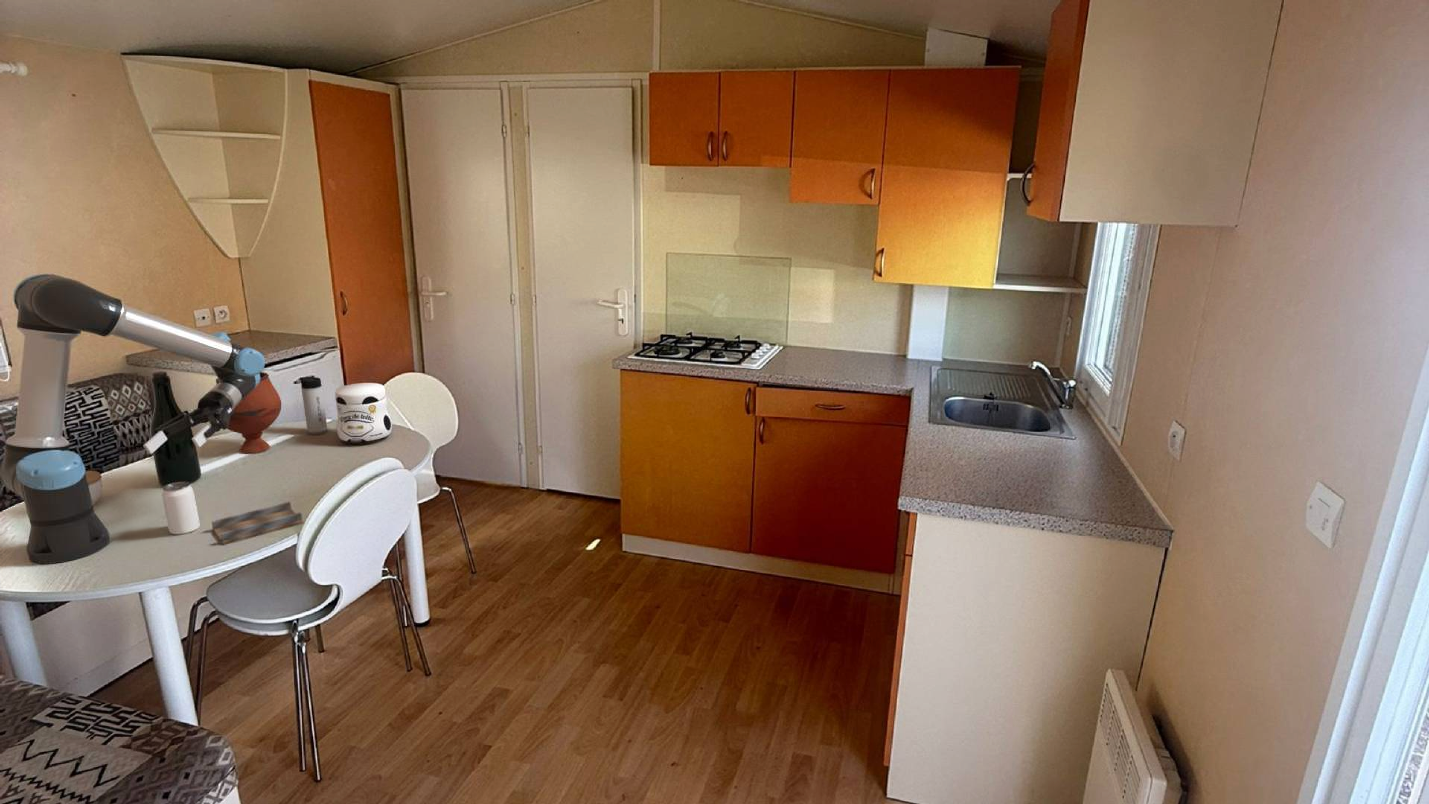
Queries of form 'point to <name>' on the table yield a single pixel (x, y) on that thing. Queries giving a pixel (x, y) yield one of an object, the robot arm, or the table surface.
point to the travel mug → (314, 405)
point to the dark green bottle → (172, 438)
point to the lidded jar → (94, 484)
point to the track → (256, 523)
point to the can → (180, 508)
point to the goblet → (255, 415)
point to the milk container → (362, 413)
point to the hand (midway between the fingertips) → (171, 446)
